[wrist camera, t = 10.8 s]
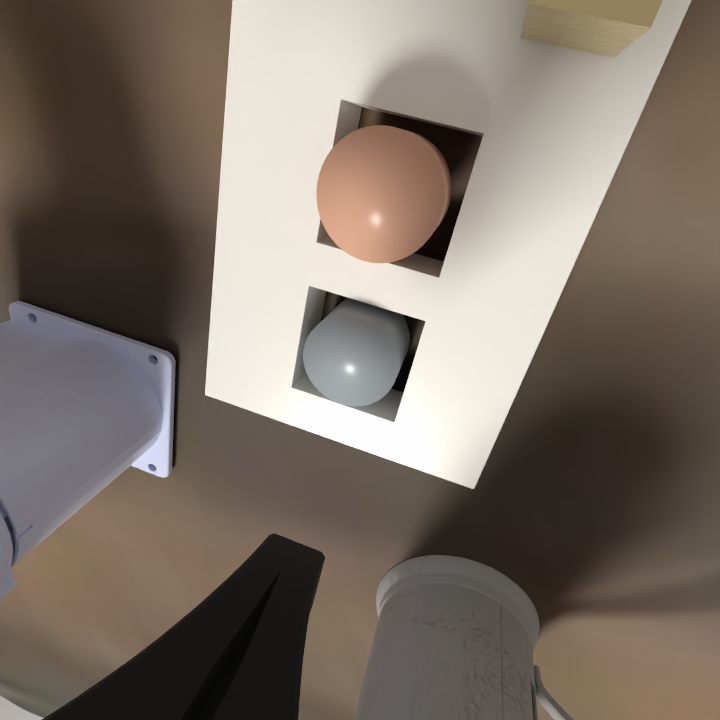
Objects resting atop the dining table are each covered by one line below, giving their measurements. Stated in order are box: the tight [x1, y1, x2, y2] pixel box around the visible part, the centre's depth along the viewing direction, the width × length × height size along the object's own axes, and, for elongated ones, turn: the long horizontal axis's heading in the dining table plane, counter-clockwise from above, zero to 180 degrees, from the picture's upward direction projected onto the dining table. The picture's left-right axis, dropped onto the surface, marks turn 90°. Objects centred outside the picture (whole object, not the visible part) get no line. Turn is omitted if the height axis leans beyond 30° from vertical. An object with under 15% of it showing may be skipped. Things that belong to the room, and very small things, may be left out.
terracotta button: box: [316, 125, 452, 263], centre depth 14 cm, size 4×4×3 cm
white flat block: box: [205, 0, 691, 489], centre depth 15 cm, size 12×20×3 cm, turn 167°
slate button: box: [303, 298, 410, 406], centre depth 18 cm, size 4×4×3 cm
